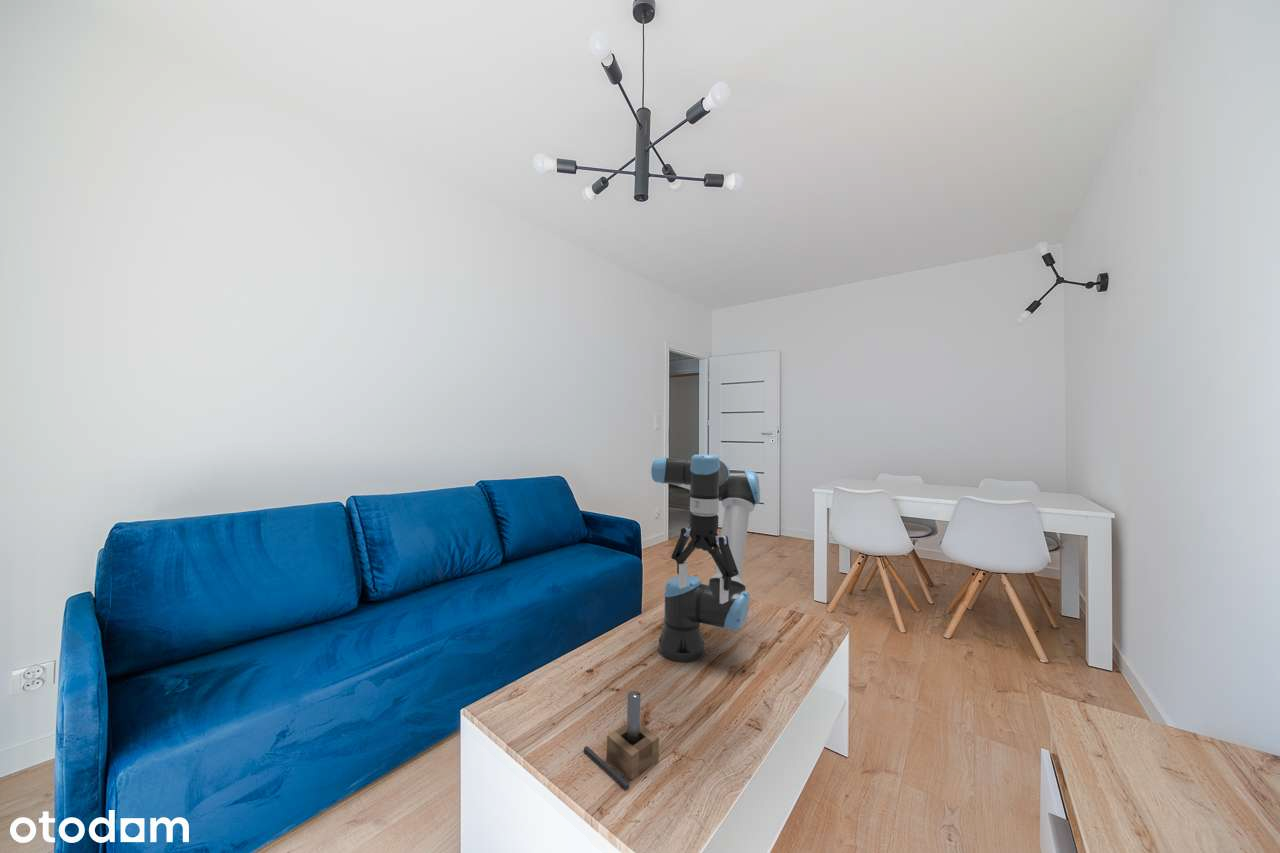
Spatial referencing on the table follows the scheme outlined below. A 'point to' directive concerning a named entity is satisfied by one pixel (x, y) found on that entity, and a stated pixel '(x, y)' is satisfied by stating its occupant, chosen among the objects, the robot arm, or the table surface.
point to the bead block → (632, 751)
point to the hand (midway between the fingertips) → (702, 594)
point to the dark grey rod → (606, 768)
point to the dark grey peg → (633, 717)
